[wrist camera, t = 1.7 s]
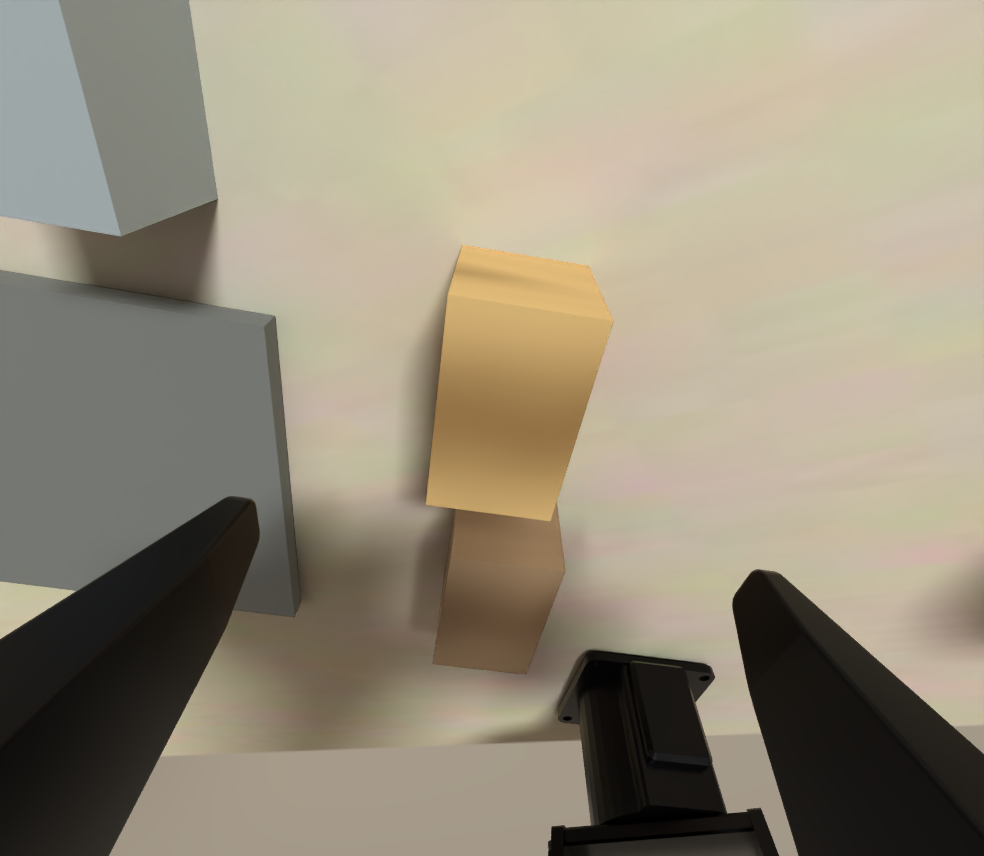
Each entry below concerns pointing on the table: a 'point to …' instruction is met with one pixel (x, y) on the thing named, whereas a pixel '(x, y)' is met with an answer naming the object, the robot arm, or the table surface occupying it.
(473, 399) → the honey block
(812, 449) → the table surface
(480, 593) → the walnut block
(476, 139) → the table surface
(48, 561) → the grey mat
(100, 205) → the blue-grey block
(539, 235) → the table surface
